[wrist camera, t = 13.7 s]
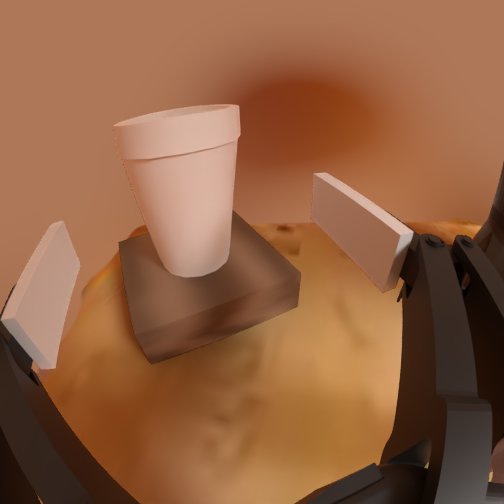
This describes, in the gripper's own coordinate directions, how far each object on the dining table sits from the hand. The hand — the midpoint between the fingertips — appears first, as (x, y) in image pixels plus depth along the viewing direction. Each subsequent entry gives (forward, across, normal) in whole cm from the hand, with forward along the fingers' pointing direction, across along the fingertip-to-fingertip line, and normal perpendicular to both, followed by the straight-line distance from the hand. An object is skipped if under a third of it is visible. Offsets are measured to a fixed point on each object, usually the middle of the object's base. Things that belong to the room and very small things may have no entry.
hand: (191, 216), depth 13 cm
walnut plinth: (+9, 0, -12) cm, 16 cm away
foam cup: (+9, 0, -9) cm, 13 cm away
